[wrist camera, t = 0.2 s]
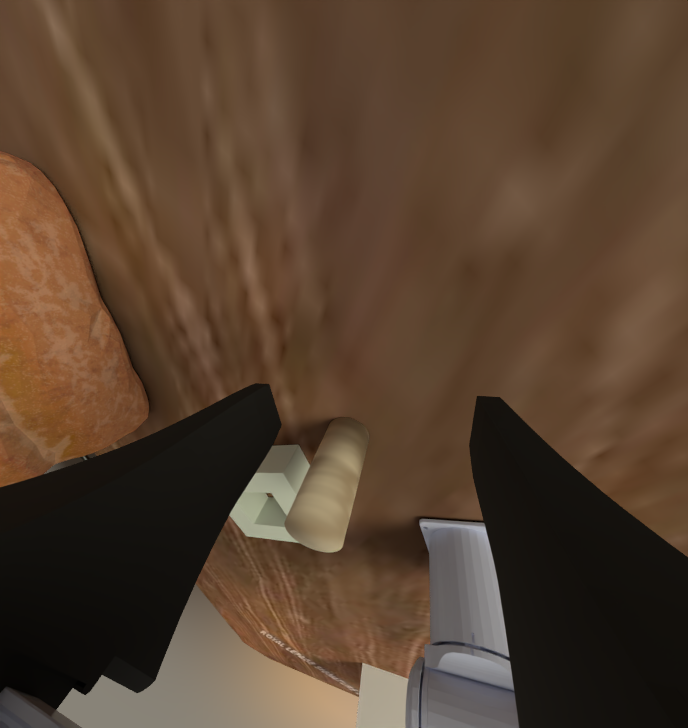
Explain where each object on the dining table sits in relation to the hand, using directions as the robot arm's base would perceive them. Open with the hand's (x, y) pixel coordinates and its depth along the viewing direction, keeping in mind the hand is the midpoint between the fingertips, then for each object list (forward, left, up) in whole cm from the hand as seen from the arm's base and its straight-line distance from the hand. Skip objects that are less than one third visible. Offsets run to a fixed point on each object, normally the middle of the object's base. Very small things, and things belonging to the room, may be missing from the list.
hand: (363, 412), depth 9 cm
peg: (-10, +7, -10) cm, 16 cm away
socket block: (-17, +19, -10) cm, 27 cm away
